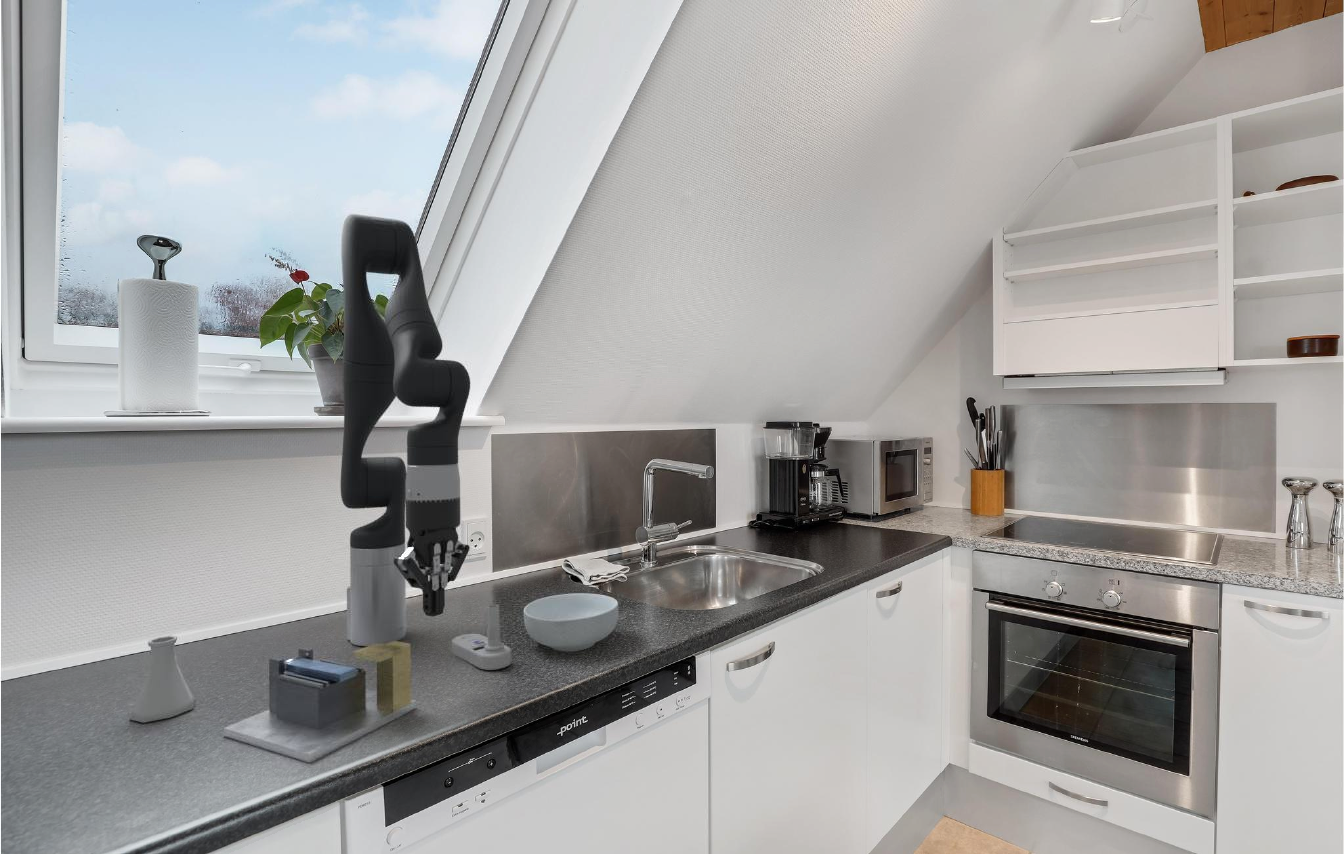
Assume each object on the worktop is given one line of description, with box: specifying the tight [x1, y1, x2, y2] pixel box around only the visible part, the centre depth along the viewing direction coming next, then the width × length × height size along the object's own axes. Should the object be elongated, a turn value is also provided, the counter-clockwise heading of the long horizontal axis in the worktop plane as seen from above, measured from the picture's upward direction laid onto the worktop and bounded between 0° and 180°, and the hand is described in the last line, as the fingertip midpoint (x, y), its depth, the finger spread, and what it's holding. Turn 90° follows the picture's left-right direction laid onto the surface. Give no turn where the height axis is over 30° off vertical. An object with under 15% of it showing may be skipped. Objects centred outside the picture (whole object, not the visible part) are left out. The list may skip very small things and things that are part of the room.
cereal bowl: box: [523, 592, 619, 652], centre depth 116 cm, size 17×17×7 cm
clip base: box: [223, 647, 417, 764], centre depth 86 cm, size 16×16×8 cm
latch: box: [353, 640, 412, 712], centre depth 87 cm, size 4×5×8 cm
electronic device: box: [451, 604, 512, 671], centre depth 109 cm, size 5×10×15 cm
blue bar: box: [284, 655, 356, 682], centre depth 86 cm, size 12×3×1 cm, turn 65°
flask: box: [129, 634, 196, 723], centre depth 89 cm, size 7×7×10 cm
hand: (434, 614), depth 95 cm, fingers closed
